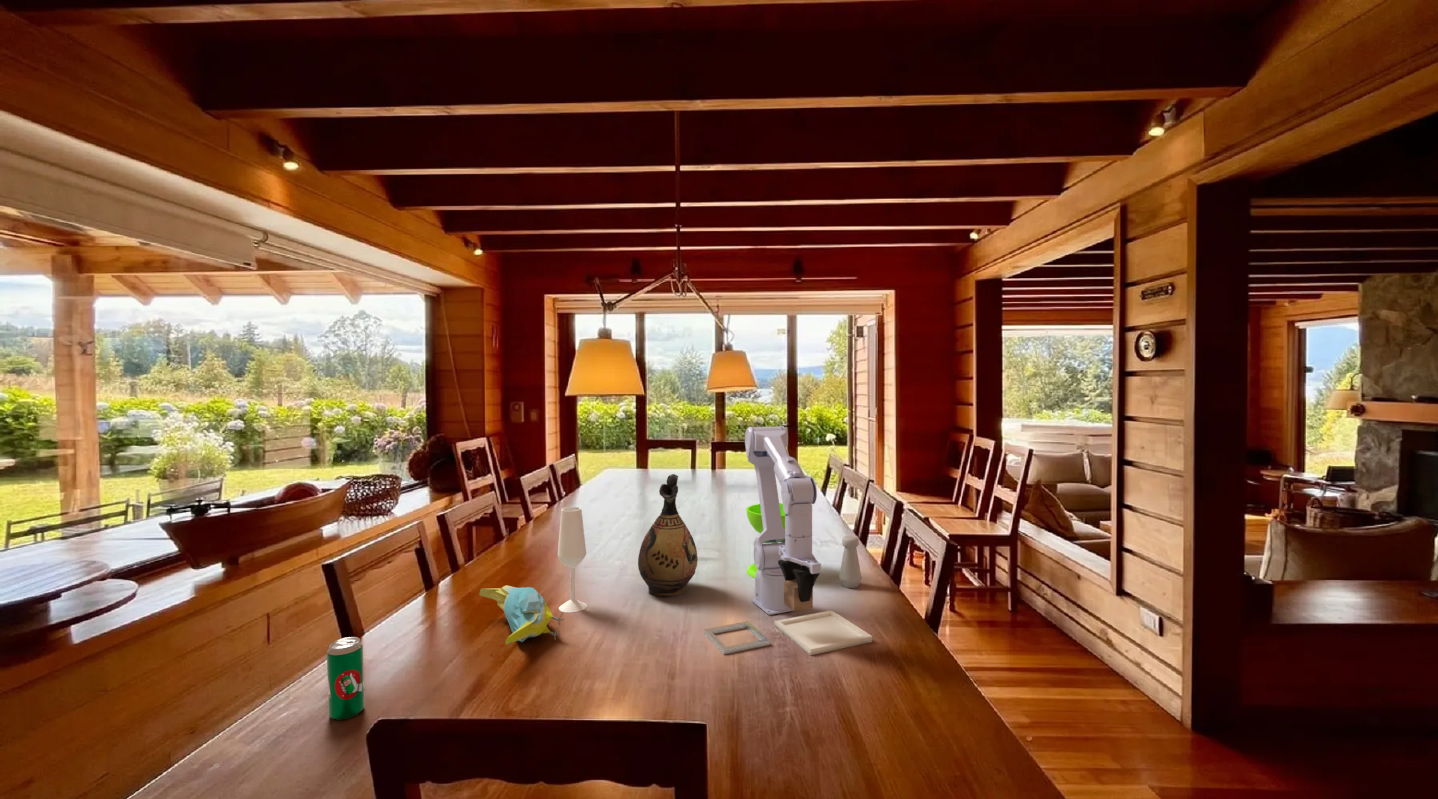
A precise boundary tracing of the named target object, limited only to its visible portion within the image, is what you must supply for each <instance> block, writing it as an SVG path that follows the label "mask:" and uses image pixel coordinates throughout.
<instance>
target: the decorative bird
mask: <svg viewBox="0 0 1438 799" xmlns="http://www.w3.org/2000/svg"><path fill="white" fill-rule="evenodd" d="M479 596H480V597H484V598H487V599H491V600H493V601H496V602H497V606H498V607H499V608H500V609H502V611H503V612H504V616H505V618H506V620H507V622H508V625H509V628H510V630H511V632H512V633H511V634H509V636H507V638H506V639H505V640H504V643H505V645H506V646H507V645H510V644H513V643H514V642H518V641H519V642H521V643H523V642H524V641H526V640H527V639H529V638H535V637H537V636H540V635H541V634H549V635H552V636H554V641H557V638H556V636H559V635H560V634H561V633H560V632H559V633H557V632H558V630H559V629H560V627H559V626H561V621H564V620H565V618H562V616H563V614H564V612H562V611H561V614H560V615H559V617H556V616H554V615H553V613H552V611H551V609H550V607H549V606H548V603H547V600H546V599H544V597H543V596H542V595H541V594H540V593H538V591H537V590H536V589H535V588H534V587H531V586H527V587H524V586H523V587H515V586H511V585H507V584H506V585H504V586H502V587H501V588H500V587H499V588H495V587H493V588H480V591H479ZM552 619H553V620H555V621H557V622H558V626H557V628H556V630H555V631H551V630H550V629H549V628H548V626H547V625H548V623H549V622H550V621H551V620H552Z"/></svg>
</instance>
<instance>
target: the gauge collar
mask: <svg viewBox="0 0 1438 799" xmlns="http://www.w3.org/2000/svg"><path fill="white" fill-rule="evenodd" d="M743 629H746V630H747V631H748V632H750V633H751V635H753V636H754V637H755V638H757V639H758V640H754V641H749V642H743V643H738V644H734V645H728V646H726V645H725V644H724V643H723V642H722V641H721V640H720V639H719V638H718V637H717V634H723V633H727V632H733V631H738V630H743ZM703 632H704V633H703V634H704V635H705V636H706V638H707V639H709V641H710V642H711V643H712V644H713V645H714V646H715V647H716V649H718V650H719V652H721V654H723V655H728V654H733V653H737V652H738V653H739V652H742V651H749V650H753V649H757V648H758V649H759V648H763V647H768V646H770V645H771V640H770V639H769V638H768V637H767V636H766V635H764V634H763V633H762V632H761V631H760V630H759V629H758V628H757V627H756V626H754V625H753V624H752V623H751V622H749V620H748V621H742V622H737V623H732V624H725V625H720V626H715V627H710V628H709V627H708V628H704V630H703Z"/></svg>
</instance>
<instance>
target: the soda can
mask: <svg viewBox="0 0 1438 799" xmlns="http://www.w3.org/2000/svg"><path fill="white" fill-rule="evenodd" d="M363 647H364V645H363V643H362V642H361V639H360V638H359V637H357V636H351V637H350V636H349V637H343V638H339V639H337V640H334V641H333V642H331V643H330V644H329V647H328V649H327V650H326V672H327V674H326V675H327V676H326V677H327V700H328V701H327V703H328V705H327V707H328V716H329V718H331V719H332V720H334V719H336V720H335V721H342V720H341V719H345V720H347V719H351V717H352V718H353V716H354V717H355V715H356V716H358V715H359V714H360V713H361V712H362V711H363V710H364V708H365V705H366V704H365V678H364V677H365V674H364V648H363ZM359 712H360V713H359ZM358 713H359V714H358Z"/></svg>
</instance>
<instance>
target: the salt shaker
mask: <svg viewBox="0 0 1438 799" xmlns="http://www.w3.org/2000/svg"><path fill="white" fill-rule="evenodd" d="M841 542H842V543H841V544H842V546H843V547H844V548H843V554H842V559H841V566H840V569H839V575H838V578H839V580H840V584H841V585H842V586H843V587H845V588H848V589H855V588H858V587H860V586H859V585H860V583H861V581H862V572H861V566H860V560H859V554H858V549H857V547H859V544H860V543H859V542H860V540H859V538H858V537H856V536H853V535H848V536H843V537H842V541H841Z"/></svg>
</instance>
